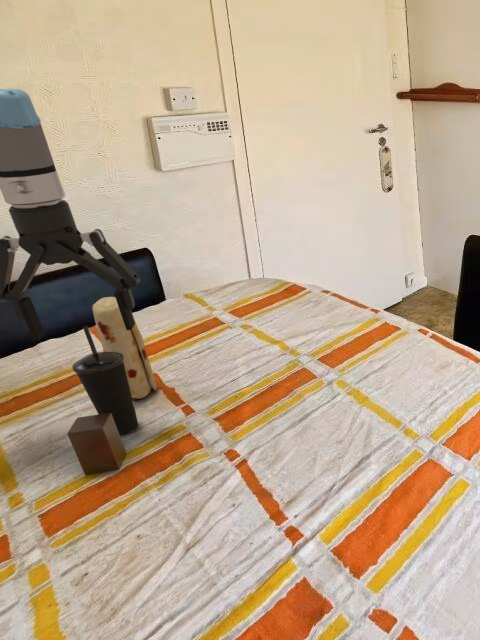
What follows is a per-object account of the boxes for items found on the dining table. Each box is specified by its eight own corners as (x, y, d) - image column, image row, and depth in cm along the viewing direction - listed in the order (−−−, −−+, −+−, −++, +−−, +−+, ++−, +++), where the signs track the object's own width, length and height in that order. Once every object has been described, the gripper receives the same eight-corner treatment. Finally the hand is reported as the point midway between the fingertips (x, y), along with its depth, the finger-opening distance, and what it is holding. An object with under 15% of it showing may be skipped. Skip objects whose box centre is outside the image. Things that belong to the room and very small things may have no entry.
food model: (125, 386, 127) (91, 293, 118) (161, 379, 130) (130, 288, 120) (119, 408, 119) (82, 310, 110) (158, 400, 122) (125, 304, 112)
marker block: (84, 475, 100) (66, 433, 97) (94, 458, 105) (76, 417, 101) (119, 469, 102) (102, 428, 98) (126, 452, 106) (111, 412, 102)
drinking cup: (113, 445, 108) (72, 339, 99) (90, 432, 112) (48, 330, 102) (155, 424, 114) (120, 323, 104) (132, 413, 117) (96, 315, 108)
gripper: (-74, 214, 87) (-11, 351, 98) (123, 201, 93) (163, 331, 104) (-48, 203, 94) (9, 332, 104) (134, 191, 100) (171, 314, 110)
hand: (86, 332), depth 104 cm, fingers open, 13 cm apart
